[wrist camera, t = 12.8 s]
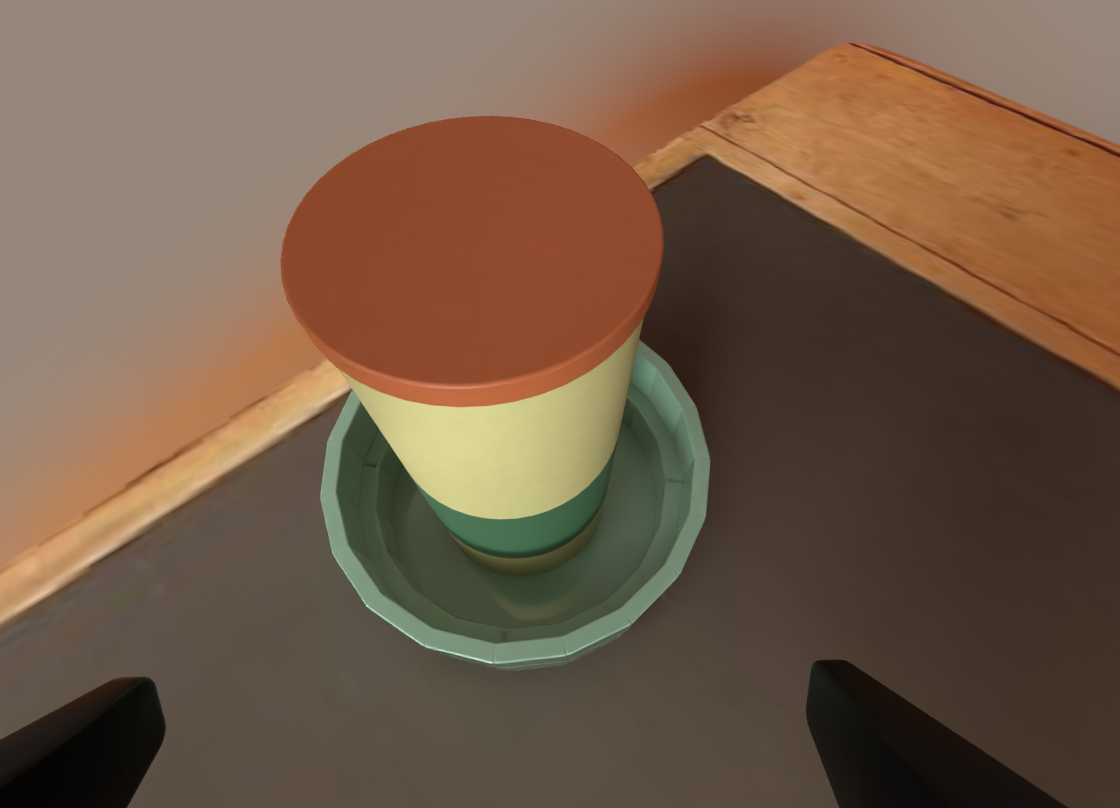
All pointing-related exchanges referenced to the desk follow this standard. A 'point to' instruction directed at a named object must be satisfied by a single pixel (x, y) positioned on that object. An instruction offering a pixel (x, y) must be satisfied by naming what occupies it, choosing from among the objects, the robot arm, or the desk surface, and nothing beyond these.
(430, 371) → the snack canister
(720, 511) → the desk surface
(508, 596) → the bowl
